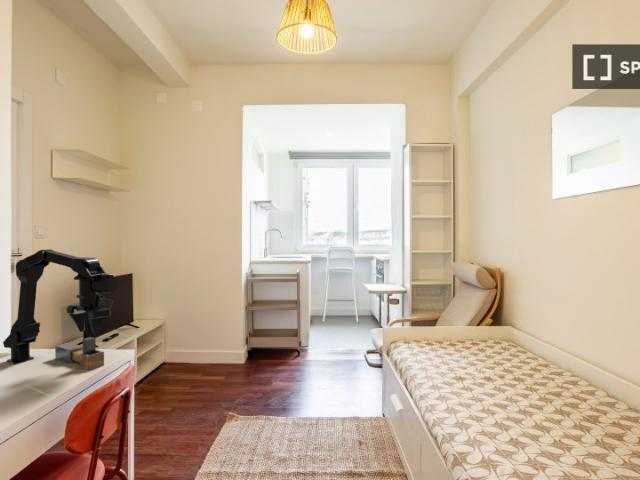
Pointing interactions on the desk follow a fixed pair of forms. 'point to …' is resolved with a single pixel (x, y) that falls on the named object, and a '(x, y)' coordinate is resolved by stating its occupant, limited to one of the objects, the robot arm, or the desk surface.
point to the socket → (92, 360)
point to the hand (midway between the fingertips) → (88, 333)
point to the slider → (84, 349)
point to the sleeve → (66, 351)
